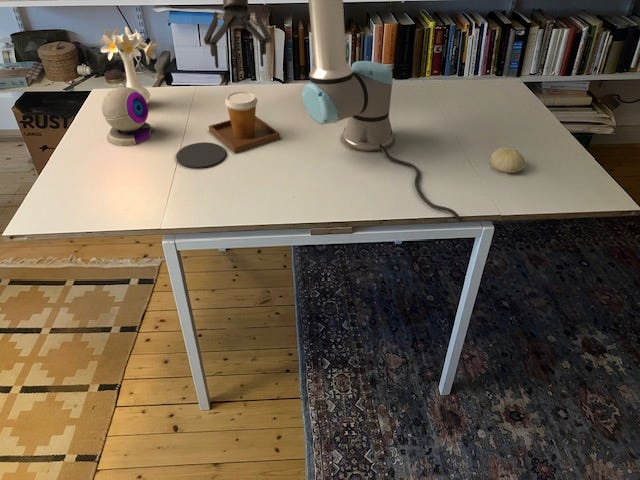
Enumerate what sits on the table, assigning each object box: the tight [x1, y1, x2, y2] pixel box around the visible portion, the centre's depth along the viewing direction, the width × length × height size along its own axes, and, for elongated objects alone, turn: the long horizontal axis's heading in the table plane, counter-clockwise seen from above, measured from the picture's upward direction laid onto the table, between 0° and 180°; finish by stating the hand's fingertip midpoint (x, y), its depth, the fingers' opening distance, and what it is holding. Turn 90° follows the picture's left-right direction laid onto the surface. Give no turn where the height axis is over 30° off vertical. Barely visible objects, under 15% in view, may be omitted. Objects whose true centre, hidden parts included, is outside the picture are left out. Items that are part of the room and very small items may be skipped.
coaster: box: [175, 142, 226, 169], centre depth 158 cm, size 14×14×1 cm
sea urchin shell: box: [490, 147, 526, 174], centre depth 153 cm, size 9×8×8 cm
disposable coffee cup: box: [224, 90, 258, 139], centre depth 164 cm, size 10×10×12 cm
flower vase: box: [98, 26, 159, 104], centre depth 175 cm, size 13×18×25 cm
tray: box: [208, 115, 281, 154], centre depth 167 cm, size 17×16×2 cm
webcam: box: [101, 86, 154, 146], centre depth 163 cm, size 13×13×15 cm
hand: (239, 65), depth 164 cm, fingers open, 13 cm apart
